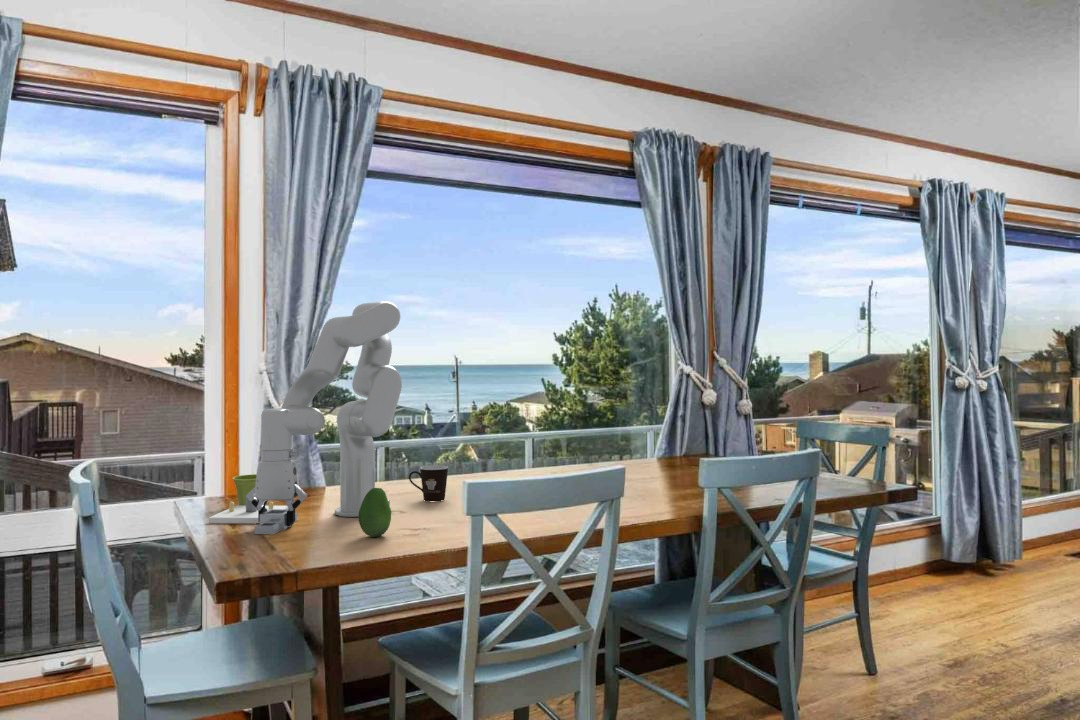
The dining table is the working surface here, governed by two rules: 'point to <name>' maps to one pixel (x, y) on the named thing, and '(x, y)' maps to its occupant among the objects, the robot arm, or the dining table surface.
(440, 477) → the coffee mug
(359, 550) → the dining table surface
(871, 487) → the dining table surface
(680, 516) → the dining table surface
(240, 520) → the post block
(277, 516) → the bracket
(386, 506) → the avocado
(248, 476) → the plant pot
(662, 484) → the dining table surface
